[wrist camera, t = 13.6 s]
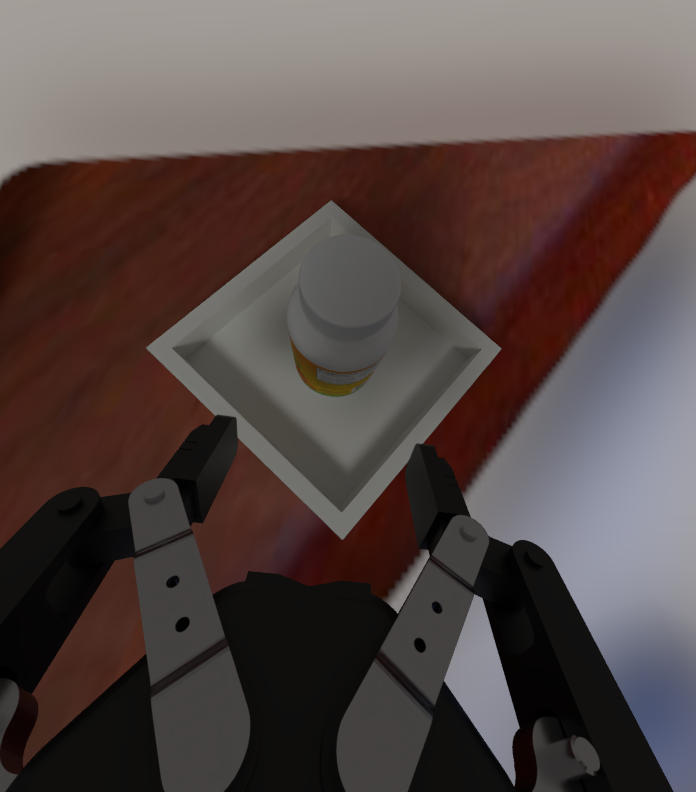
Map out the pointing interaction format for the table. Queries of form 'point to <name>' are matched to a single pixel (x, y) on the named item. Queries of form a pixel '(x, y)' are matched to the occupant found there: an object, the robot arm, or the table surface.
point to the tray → (313, 413)
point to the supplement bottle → (343, 313)
